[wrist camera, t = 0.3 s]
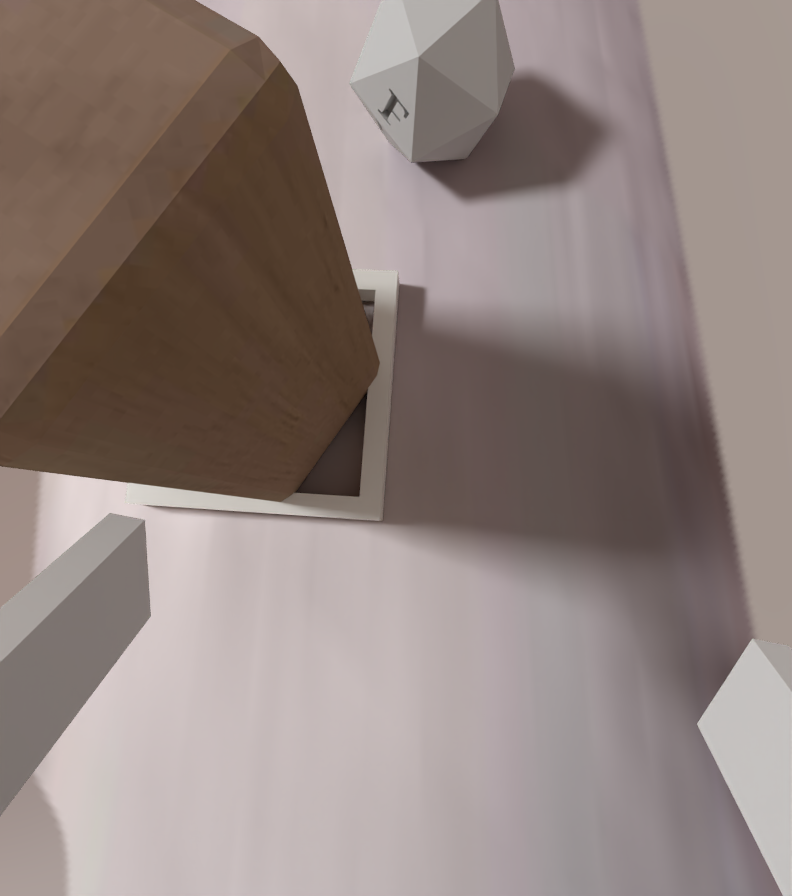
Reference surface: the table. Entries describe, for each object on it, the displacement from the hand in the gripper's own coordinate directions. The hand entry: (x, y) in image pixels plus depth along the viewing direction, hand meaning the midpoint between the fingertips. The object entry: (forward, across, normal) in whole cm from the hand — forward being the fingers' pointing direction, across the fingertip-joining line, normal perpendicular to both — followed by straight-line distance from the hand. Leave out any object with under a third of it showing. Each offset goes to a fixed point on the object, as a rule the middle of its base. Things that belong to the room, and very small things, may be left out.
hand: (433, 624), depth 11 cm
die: (+28, +3, -13) cm, 31 cm away
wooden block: (+19, +10, +3) cm, 21 cm away
